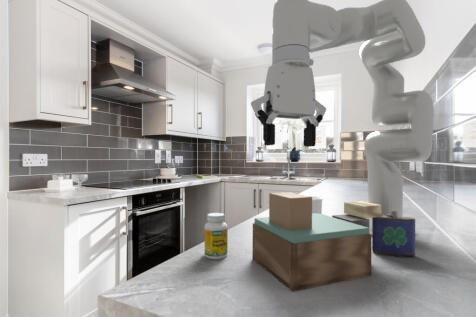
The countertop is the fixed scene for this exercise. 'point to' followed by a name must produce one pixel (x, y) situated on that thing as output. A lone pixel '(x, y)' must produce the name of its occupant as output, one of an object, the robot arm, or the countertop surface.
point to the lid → (303, 220)
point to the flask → (393, 235)
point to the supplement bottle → (216, 236)
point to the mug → (316, 204)
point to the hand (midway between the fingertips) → (290, 145)
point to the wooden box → (314, 257)
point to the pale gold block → (362, 209)
